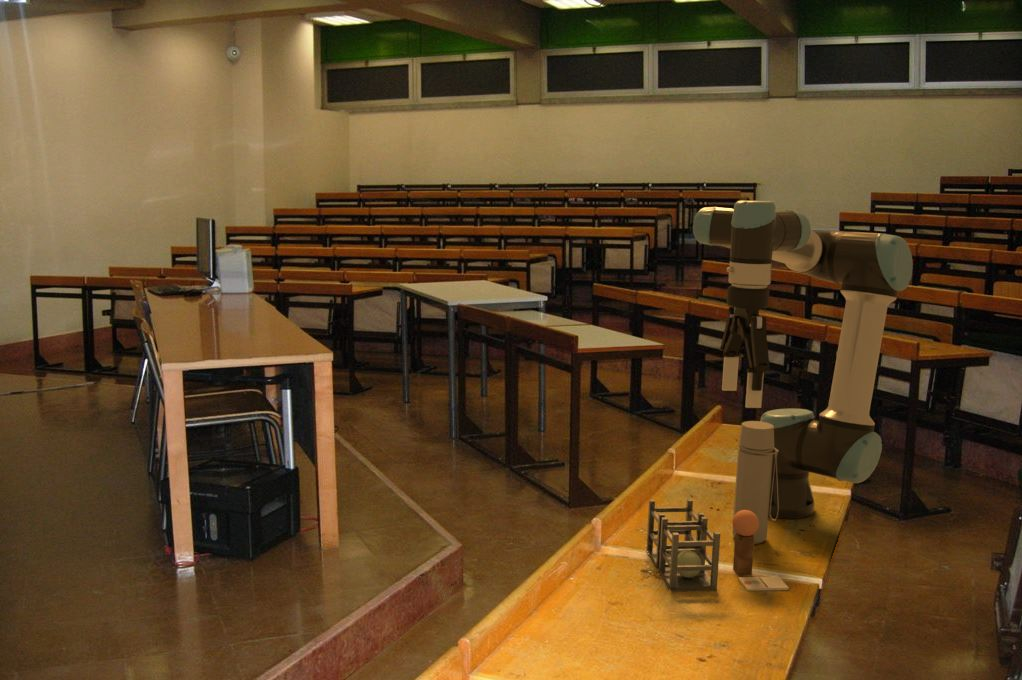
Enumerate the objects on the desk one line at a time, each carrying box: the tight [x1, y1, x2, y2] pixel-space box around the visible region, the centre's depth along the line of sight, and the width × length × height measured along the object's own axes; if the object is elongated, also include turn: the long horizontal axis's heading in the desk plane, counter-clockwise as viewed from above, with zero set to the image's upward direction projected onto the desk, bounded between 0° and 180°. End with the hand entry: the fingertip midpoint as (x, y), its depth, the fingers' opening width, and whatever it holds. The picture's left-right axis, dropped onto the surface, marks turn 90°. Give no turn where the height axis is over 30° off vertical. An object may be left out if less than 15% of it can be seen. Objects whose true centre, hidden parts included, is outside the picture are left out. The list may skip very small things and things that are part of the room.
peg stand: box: [732, 533, 755, 576], centre depth 190 cm, size 3×3×8 cm
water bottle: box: [731, 420, 779, 545], centre depth 205 cm, size 9×8×25 cm
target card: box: [737, 576, 790, 592], centre depth 185 cm, size 8×5×1 cm, turn 96°
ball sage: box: [677, 551, 702, 578], centre depth 185 cm, size 5×5×5 cm
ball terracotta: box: [731, 510, 759, 536], centre depth 189 cm, size 5×5×5 cm
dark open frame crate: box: [658, 516, 721, 592], centre depth 185 cm, size 9×9×11 cm
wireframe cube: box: [646, 498, 705, 570], centre depth 194 cm, size 9×9×11 cm
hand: (740, 398), depth 183 cm, fingers open, 13 cm apart
